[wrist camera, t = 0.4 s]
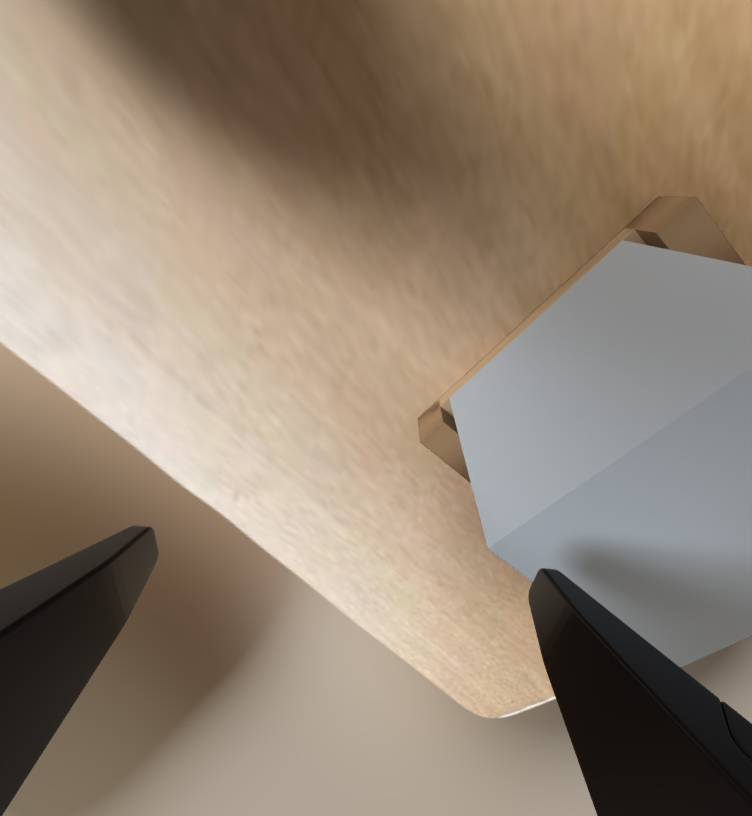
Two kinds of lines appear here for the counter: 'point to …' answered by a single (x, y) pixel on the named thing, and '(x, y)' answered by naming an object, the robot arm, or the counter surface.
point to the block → (627, 445)
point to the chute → (656, 226)
